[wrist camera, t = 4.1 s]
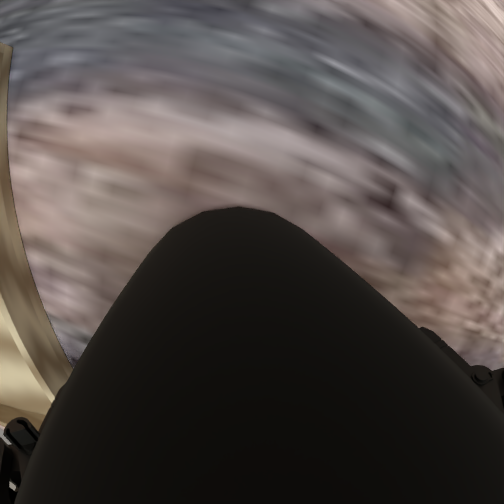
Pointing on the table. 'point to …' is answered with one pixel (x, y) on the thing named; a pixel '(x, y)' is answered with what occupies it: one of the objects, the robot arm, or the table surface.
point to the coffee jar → (262, 387)
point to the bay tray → (22, 307)
